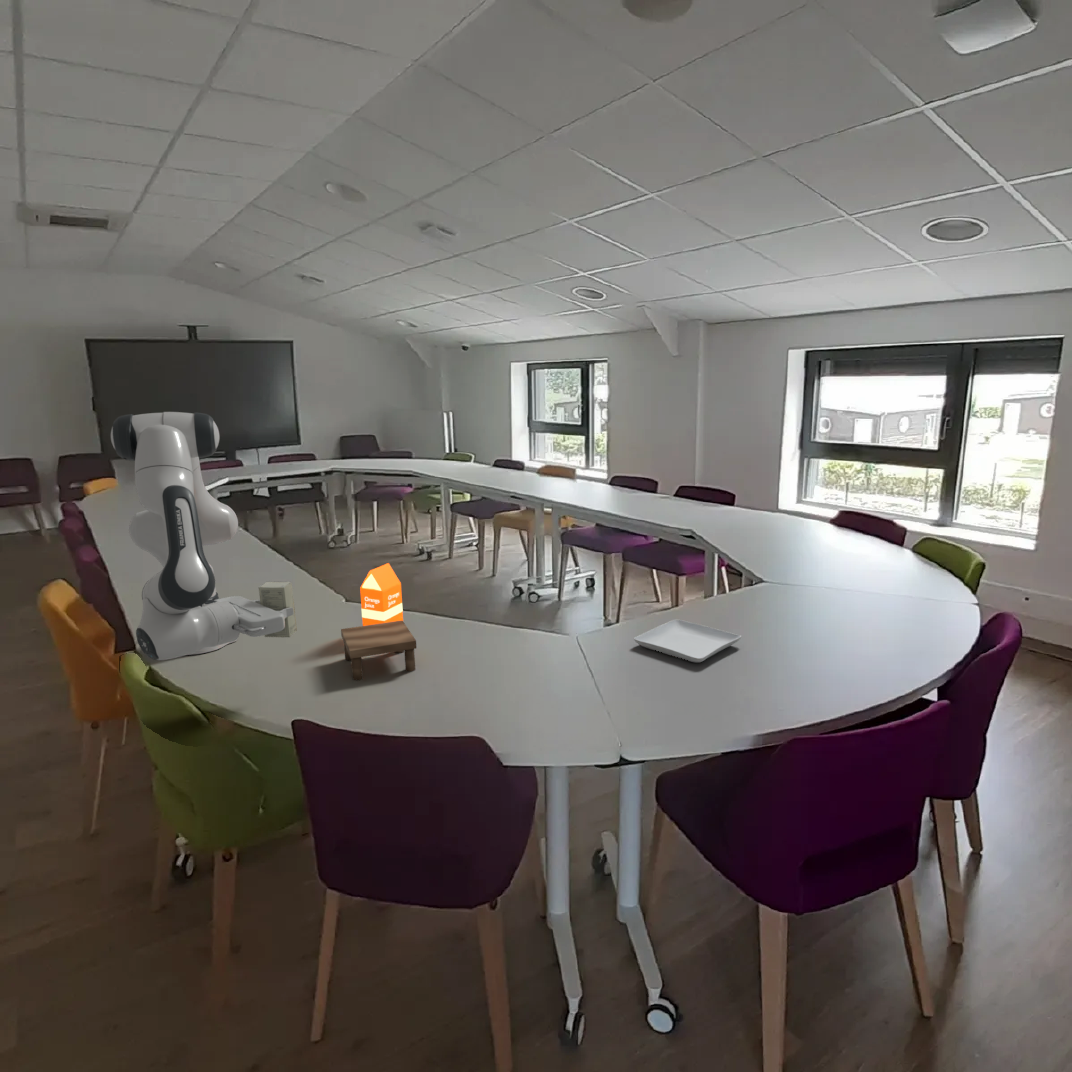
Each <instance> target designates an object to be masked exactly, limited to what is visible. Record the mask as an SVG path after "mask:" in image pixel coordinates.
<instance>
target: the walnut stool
mask: <svg viewBox="0 0 1072 1072" xmlns="http://www.w3.org/2000/svg"><path fill="white" fill-rule="evenodd" d="M340 634H341V638H342V641H343V648H344V660H345V662H350V663H351V675H352V680H353V681H355V682H356V681H361V680H363V678H364V677H363V664H362V661H363V660H362V658H364V657H365V658H366V657H369V656H375V655H382V654H388V653H397V654H401V653H404V665H405V671H406V672H411V673H412V672H414V671H416V657H415V649H417V640H416V638H415V637H414V635H413V634H412V633H411V631H410V629H409V628H408V627H407V625H406V624H405V622H404V620H403V621H402V620H401V621H394V622H387V623H380V624H373V625H366V626H363V625H361V626H353V627H347V628H340Z"/></svg>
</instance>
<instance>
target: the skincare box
mask: <svg viewBox="0 0 1072 1072" xmlns="http://www.w3.org/2000/svg"><path fill="white" fill-rule="evenodd" d="M258 594H259V600H260V603H261V605H263V606H265V607H268V608H270V609H273V610H275V611H281V610H283V608H284V607H291V608H293V613H294V614H293V615H292V616H288V617H286V618H285V628H284V629H283V630H282V631H279V632H275V633H271V634H267V635H264V637H265V638H291V637H292V636H293V635H294V634H296V633H297V631H298V627H297V618H296V611H295V609H296V608H295V600H294V592H293V583H292V581H266V582H264V583H262V584H260V585H259V586H258Z"/></svg>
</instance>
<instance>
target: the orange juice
mask: <svg viewBox="0 0 1072 1072" xmlns="http://www.w3.org/2000/svg"><path fill="white" fill-rule="evenodd" d="M359 589H360V590H359V591H360V603H361V604H360V605H361V619H362V620H361V621H362V626H366V625H373V624H380V623H387V622H394V621H401V620H402V621H403V622H404V613H403V612H404V610H403V598H402V597H403V596H402V582H401V581H400V579H399V578H398V577H397V575H396V572H395V571H394V569H393V568H392V566H391V564H390V562H388V563H385V564H382V565H380V566H378V567H376V568H373V569H370V570H369V571H368V573H367V575H366V577H365V578H364V580H363V582H362V584H361V586H360V588H359Z"/></svg>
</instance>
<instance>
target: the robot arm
mask: <svg viewBox="0 0 1072 1072" xmlns="http://www.w3.org/2000/svg"><path fill="white" fill-rule="evenodd" d="M110 441H111V444H112V446H113V447H112V448H113V449H114V450H115V452H116V455H117V456H119V457H120V458H121V459H123V460H126V461H130V462H131V461H132V462H134V479H135V480H134V481H135V489H136V490H135V491H136V493H137V498H138V501H139V504H140V505H141V506H142V507H143V508H144V509H145V510H142V511H137V512H136V513H135V514H134V515H133V516H132V517H131V520H130V523H129V525H128V533H129V536H130V539H131V541H132V542H133V543H134V545H135V546H137V547H138V548H139V549H142V550H143V551H145V552H147V553H149V554H150V555H152V557H154V558H155V559H156V560H158V562H159V563H160V565H161V566H162V567H163V568H162V569H161V570H160V571H159V572H157V573H156V574H154V575H153V576H152V577H150V578H149V580H147V581H146V583H145V584H144V585H143V588H142V591H141V600H142V610H141V611H142V613H141V618H140V621H139V624H138V626H137V628H136V630H135V635H136V641H137V643H138V646H139V647H140V649H141V651H142V652H143V653H144V654H145V656H147V657H148V658H149V659H152V660H153V661H154V660H155V661H166V660H173V659H176V658H181V657H184V656H188V655H189V656H190V655H191V656H193V655H199V654H204V653H210V652H213V651H216V650H217V651H218V649H221V648H223V647H225V646H227V645H228V644H231V643H235V642H237V641H238V638H239V636H240V634H243V635H247V636H249V637H262V636H265V635H267V634H271V633H275V632H279V631H282V630H283V629H284V628H285V618H286V617H288V616H292V615H293V614H294V613H293V608H291V607H284V608H283V610H281V611H275V610H273V609H270V608H268V607H265V606H263V605H261V603H260V599H252V600H250V599H248V598H246V597H243V596H242V595H241V596H240V595H232V596H226V597H221V598H220V597H219V594H218V592H217V588H216V578H215V572H214V567H213V566H212V565H211V564H210V562H209V561H208V559H207V558H206V556H205V552H204V546H212V545H216V544H217V545H218V544H220V543H224V542H228V541H231V540H232V539H233V538H235V535H236V534H237V532H238V529H239V519H238V517H237V516H238V515H236V513H235V511H234V510H233V508H231V507H230V506H229V505H227V504H226V503H223V502H220V501H219V500H218V499H216V498H215V497H213V496H212V495H211V493H209V491H208V490H207V488H206V486H205V484H204V480H203V475H202V469H201V464H200V459H204V458H207V457H210V456H213V455H214V453H216V452H217V448H218V446H219V445H220V444H219V443H220V431H219V427H218V426H217V424H216V422H215V421H214V418H213V417H212V416H211V415H209V414H208V413H201V412H195V411H194V413H191V412H181V411H180V412H179V411H163V412H151V413H149V412H148V413H141V414H135V415H134V414H133V413H131V414H130V413H129V414H124V415H120V416H118V417H116V418H115V420H114V421H113V423H112V426H111V430H110Z"/></svg>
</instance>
